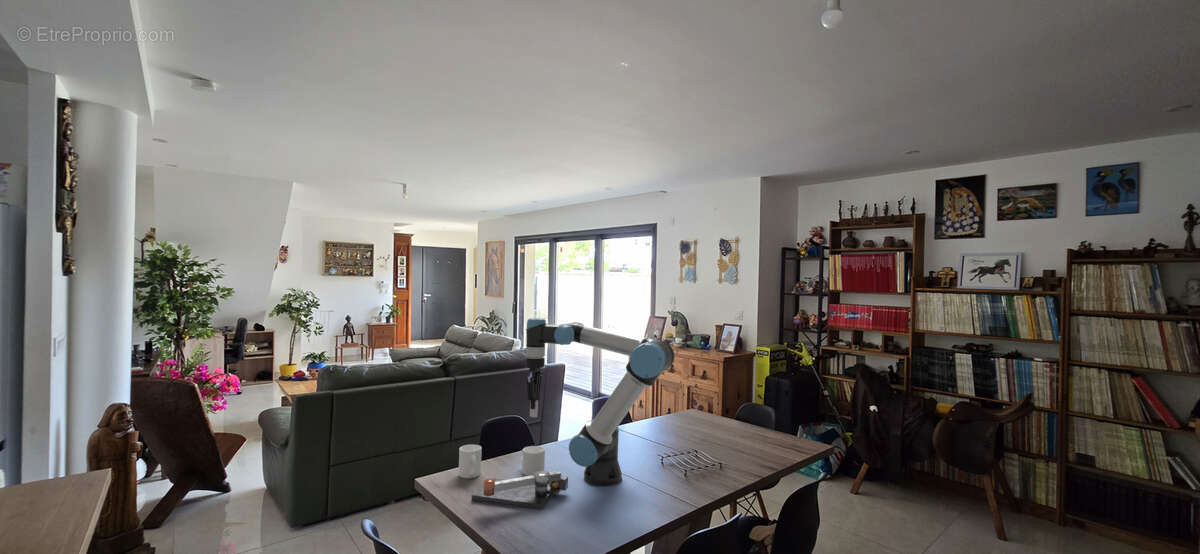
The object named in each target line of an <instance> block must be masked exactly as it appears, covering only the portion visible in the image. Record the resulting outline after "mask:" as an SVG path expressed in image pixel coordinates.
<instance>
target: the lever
mask: <svg viewBox="0 0 1200 554" xmlns="http://www.w3.org/2000/svg"><path fill="white" fill-rule="evenodd" d="M561 476H562V473H561V472H560V471H559V470H553V471H546V470H544V471H537V472H535V473H533V475H530V476H526V475H524V476H520V477H515V478H508V479H503V480H502V481H496V482H495V480H494V479H491V478H486V479H484V481H483V485H484V495H485V496H492V495H494V494H495V492H496V491H501V490H507V489H512V488H518V487H523V486H529V485H537V486H545V485H549V483H550V482H552V481H557V480H561Z"/></svg>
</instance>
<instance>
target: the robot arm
mask: <svg viewBox="0 0 1200 554" xmlns="http://www.w3.org/2000/svg"><path fill="white" fill-rule="evenodd" d="M525 330H526V331H525V332H526V339H525V340H526V344H525V345H526V347H525V349H524V351H525V356H526V358H525V367H526V368H528V376H526V378H525V381H526V388H527V390H526V391H527V401H529V417H530V418H538V414H539V413H538V411H539V406H538V405H539V401H540V400H541V394H542V393H541V391H542V384H543V383H542V381H543V376H544V373H543V372H542V371H541V370H542V369H543V368H545V366H546V365H545V357H546V344H552V345H553V344H554V345H560V346H565V345H570V344H572V342H573V343H577V344H582V345H586V346H589V347H594V348H596V349H602V350H605V351H609V352H613V353H616V354H620V355H623V356H628V357H629V361H628V363H627V364H626V365H625V370H626V373H625V374H624V376H623V377H622V378H621V380H620V381H619V383H618V384H617V385H616V387H615V389H614V390H613V391H612V393H611V394H610V396H609V397H608V399H607V400H606V402H605V403H604V404H603V405H602V407H601V409H600V410H599V411H598V412H597V414H596V415H595V417H594V418H593V419H591V420H588V421H587V422H586V423H585V424H584V426H583V427H582V429H581V430H580V431H579V433H577V434H576V435H574V436H573V437H572V439H570V441H569V444H568V451H569V456H570V457H571V459H572V461H573V462H574V463H575V464H576V465H578V466H580V467H584V471H583V480H584V481H585V482H586V483H588V484H591V485H594V486H601V487H602V486H603V487H605V486H606V487H608V486H609V487H610V486H613V485H614V486H615V485H617V484H619V483H621V482H622V477H623V473H622V469H621V466H620V463H619V455H618V454H619V435H620V434H619V431H620V430H619V425H620V424H621V423H622V421H623V419H624V418H625V417H626V416H627V415H628V413H629V411H630V410H631V409H632V407H633V405H634V404H635V403H636V401H638V398H640V396H641V394H642V393H643V392H644V390H645V389H646V388H648V387H652V386H653V385H654V384H655V382H656V381H657V380H658V379H659V377H660V375H661V374H662V373H663V372H665V371H667V370H668V369H670V368H671V367H672V365H673V363H674V362H675V352H674V348H673V347H672V346H671V344H670V343H668V342H667V341H664V340H662V339H655V338H649V337H643V338H638V337H635V336H631V335H630V336H629V335H626V334H622V333H617V332H615V331H614V332H613V331H610V330H604V329H601V328H598V327H597V328H596V327H592V326H588V325H584V324H583V323H582V322H570V323H562V324H560V323H559V324H552V323H551V324H550V323H549V324H548V323H547V321H546V319H545V318H540V317H539V318H537V317H534V318H528V319H527V321H526V328H525ZM538 400H539V401H538Z"/></svg>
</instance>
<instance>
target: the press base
mask: <svg viewBox="0 0 1200 554" xmlns="http://www.w3.org/2000/svg"><path fill="white" fill-rule="evenodd" d="M490 479H494V480H495V482H496V481H502V480H504V479H501V478H495V477H492V478H490ZM568 483H569V476H565V475H561V480H557V481H552V482H550V483H549V484H548V485H545V486H537V485H529V486H523V487H518V488H512V489H507V490H501V491H496V492H495V494H494V495H492V496H485V495H484V484H483V485H482V486H481V487H479V488H478V489H476V491H475V492H474V493H472V494H471V501H472V502H477V503H478V502H479V503H485V504H494V505H500V506H501V505H502V506H505V507H506V506H507V507H515V508H522V509H528V510H529V509H531V510H536V511H542V510H543V509H544V507H545V506H546V505H547V503H549V501H550V500H551V499H552V497H553V496H554V495H555V494H556V495H559V494H560V492H561V491H565V492H566V490H567V489H568V488H569V487H568V485H569V484H568Z"/></svg>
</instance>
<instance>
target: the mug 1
mask: <svg viewBox="0 0 1200 554" xmlns="http://www.w3.org/2000/svg"><path fill="white" fill-rule="evenodd" d="M458 450H459V451H458V453H459V456H458V476H459V477H460V478H462V479H474V478H478V477H479V476H480V475H481V473H482V472H481V471H482V450H483V449H482V446H481V445H478V444H465V445H462V446H460V447H459V449H458Z"/></svg>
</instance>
